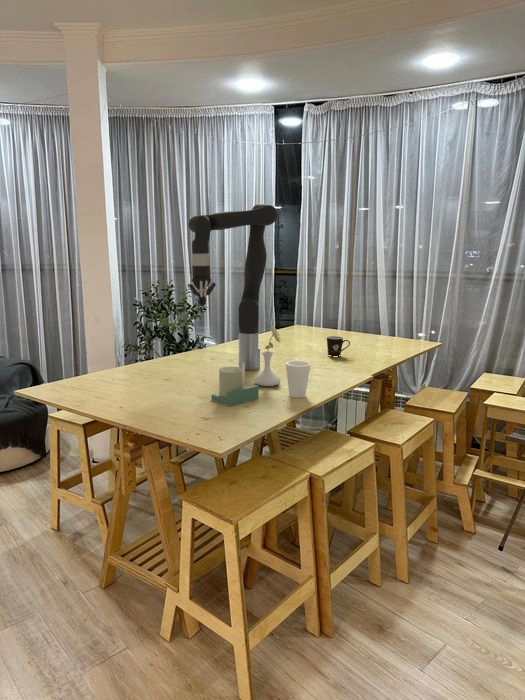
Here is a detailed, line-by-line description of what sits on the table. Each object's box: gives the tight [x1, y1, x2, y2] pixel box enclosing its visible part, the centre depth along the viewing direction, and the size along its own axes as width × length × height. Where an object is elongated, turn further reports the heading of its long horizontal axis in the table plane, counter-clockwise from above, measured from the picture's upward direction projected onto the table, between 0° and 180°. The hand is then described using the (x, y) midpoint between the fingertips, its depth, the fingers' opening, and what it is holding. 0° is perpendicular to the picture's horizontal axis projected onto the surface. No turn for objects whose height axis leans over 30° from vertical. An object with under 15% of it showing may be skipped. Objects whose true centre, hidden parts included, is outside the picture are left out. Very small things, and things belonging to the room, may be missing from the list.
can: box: [218, 366, 242, 399], centre depth 189 cm, size 9×9×12 cm
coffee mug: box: [326, 335, 351, 356], centre depth 261 cm, size 12×9×10 cm
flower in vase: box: [253, 325, 282, 387], centre depth 207 cm, size 13×11×25 cm
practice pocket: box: [211, 363, 260, 407], centre depth 188 cm, size 11×14×15 cm
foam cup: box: [285, 360, 312, 398], centre depth 193 cm, size 10×9×13 cm
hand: (202, 305), depth 213 cm, fingers closed
